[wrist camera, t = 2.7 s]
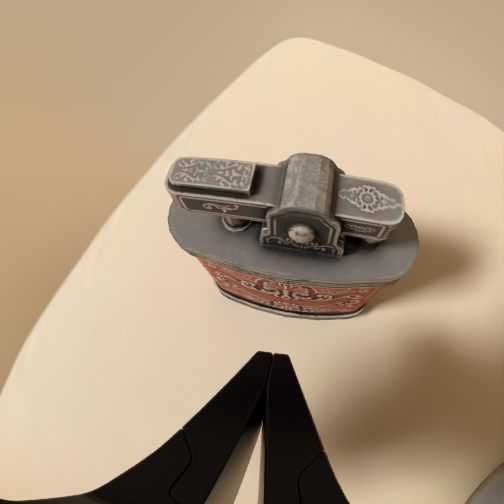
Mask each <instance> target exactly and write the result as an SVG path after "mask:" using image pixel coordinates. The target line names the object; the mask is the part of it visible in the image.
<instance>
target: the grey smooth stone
mask: <svg viewBox="0 0 504 504" xmlns="http://www.w3.org/2000/svg"><path fill="white" fill-rule="evenodd" d="M465 504H504V463H503V464H502V465H501V466H500V467H498V468H497V469H496V470H495V471H494V472H493V473H492V474H490V475H489V476H488V477H487V478H486V479H485V480H484V481H483V482H482V483H481V485H480V486H479V487H478V488H477V489H476V490H475V491H474V493H473V494H472V495H471V496H470V498H469V499H468V500H467V501H466V503H465Z"/></svg>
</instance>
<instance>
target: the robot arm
mask: <svg viewBox="0 0 504 504" xmlns="http://www.w3.org/2000/svg"><path fill="white" fill-rule="evenodd" d="M262 422H263V424H262ZM261 426H262V436H261V456H260V475H259V493H258V504H350V503H349V502H348V500H347V498H346V496H345V494H344V493H343V491H342V489H341V487H340V485H339V483H338V481H337V479H336V477H335V474H334V472H333V470H332V467H331V465H330V462H329V460H328V457H327V455H326V452H324V447H323V444H322V442H321V439H320V437H319V434H318V431H317V429H316V426H315V423H314V421H313V418H312V415H311V413H310V410H309V408H308V405H307V402H306V400H305V397H304V394H303V392H302V389H301V386H300V384H299V381H298V378H297V376H296V373H295V371H294V368H293V365H292V363H291V360H290V357H289V356H288V355H286V354H278V353H275V354H272V353H270V352H263V351H258V352H257V353H256V354H255V355H254V356H253V357H252V358H251V359H250V360H249V361H248V362H247V363H246V364H245V365H244V366H243V367H242V368H241V369H240V370H239V371H238V372H237V373H236V375H235V376H234V377H233V378H232V379H231V380H230V381H229V382H228V383H227V384H226V385H225V386H224V387H223V388H222V389H221V390H220V391H219V392H218V393H217V394H216V395H215V396H214V397H213V398H212V399H211V400H210V401H209V402H208V403H207V404H206V405H205V406H204V407H203V408H202V409H201V410H200V411H199V412H198V413H197V414H195V415H194V416H193V417H192V418H191V419H190V420H189V421H188V422H187V423H186V424H185V425H184V426H183V427H182V429H183V430H182V429H180V430H179V431H177V432H176V433H175V434H174V435H173V436H172V437H171V438H170V439H169V440H168V441H166V442H165V443H164V444H163V445H162V446H161V447H159V448H158V449H157V450H156V451H154V452H153V453H152V454H150V455H149V456H148V457H146V458H145V459H143V460H142V461H141V462H139V463H138V464H136V465H135V466H133V467H131V468H130V469H128V470H127V471H125V472H124V473H122V474H121V475H119V476H118V477H116V478H114V479H113V480H111V481H110V482H108V483H106V484H105V485H103V486H101V487H99V488H97V489H95V490H93V491H90V492H87V493H83V494H79V495H73V496H66V497H58V498H49V499H38V500H24V501H9V500H3V499H0V504H234V501H235V499H236V496H237V493H238V491H239V488H240V486H241V483H242V480H243V478H244V475H245V472H246V470H247V467H248V464H249V461H250V459H251V456H252V453H253V450H254V447H255V444H256V442H257V439H258V436H259V433H260V430H261Z"/></svg>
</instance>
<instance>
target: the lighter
mask: <svg viewBox="0 0 504 504" xmlns="http://www.w3.org/2000/svg"><path fill="white" fill-rule="evenodd" d="M165 187H166V190H167V191H168V193H169V194H170V196H171V197H172V199H173V202H172V204H171V206H170V209H169V215H168V224H169V231H170V233H171V234H172V236H173V238H174V239H175V241H176V242H177V243H178V244H179V246H180V247H181V248H182V249H183V250H184V251H186V252H187V253H189V254H190V255H192V256H195V257H197V259H198V260H199V261H200V262H201V264H202V265H203V266H204V267H205V268H206V270H207V271H208V272H209V273H210V275H211V276H212V277H213V279H214V284H215V285H216V287H217V288H218V290H219V291H220V292H221V294H222V295H224V296H225V297H227V298H228V299H231V300H233V301H236V302H238V303H241V304H243V305H246V306H248V307H251V308H253V309H256V310H260V311H264V312H268V313H272V314H275V315H279V316H283V317H290V318H300V319H310V320H336V319H348V318H352V317H354V316H356V315H357V314H358V313H360V312H361V311H362V310H363V309H364V308H365V306H366V305H367V303H368V301H369V299H370V298H372V297H373V296H374V295H375V294H376V293H377V292H378V291H379V290H380V289H382V288H383V287H385V286H388V285H392V284H394V283H395V282H397V281H398V280H399V279H400V278H402V277H403V276H404V275H405V274H406V273H407V272H408V271H410V270H411V268H412V266H413V264H414V262H415V261H416V259H417V254H418V248H419V241H418V234H417V230H416V228H415V226H414V223H413V221H412V219H411V218H410V217H409V216H408V214H407V213H406V212H405V202H404V196H403V193H402V192H401V190H400V189H399V188H398V187H397V186H395V185H394V184H391V183H387V182H383V181H378V180H373V179H367V178H362V177H356V176H350V175H345V173H344V171H342V170H341V169H339V168H337V166H336V164H335V163H334V162H333V161H332V160H331V159H329V158H327V157H324V156H322V155H317V154H309V153H299V154H294V155H292V156H290V157H289V158H288V159H287V160H285V161H282V162H279V164H278V165H275V164H266V163H257V162H248V161H238V160H227V159H215V158H202V157H181V158H178V159H177V160H176V161H175V162H174V163H173V164H172V165H171V167H170V169H169V171H168V174H167V176H166V180H165Z"/></svg>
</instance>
